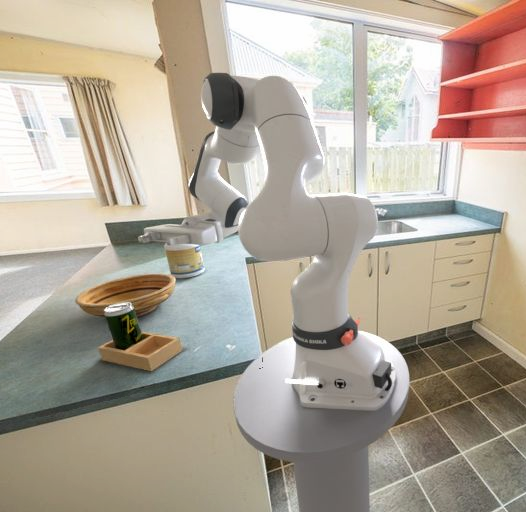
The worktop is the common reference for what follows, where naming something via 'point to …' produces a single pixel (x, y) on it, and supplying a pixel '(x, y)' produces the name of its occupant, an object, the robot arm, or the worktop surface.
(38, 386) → the worktop surface
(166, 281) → the tan oval bowl
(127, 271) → the worktop surface
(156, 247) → the worktop surface
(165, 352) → the socket base
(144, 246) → the worktop surface
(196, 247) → the supplement tub
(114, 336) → the beer can
